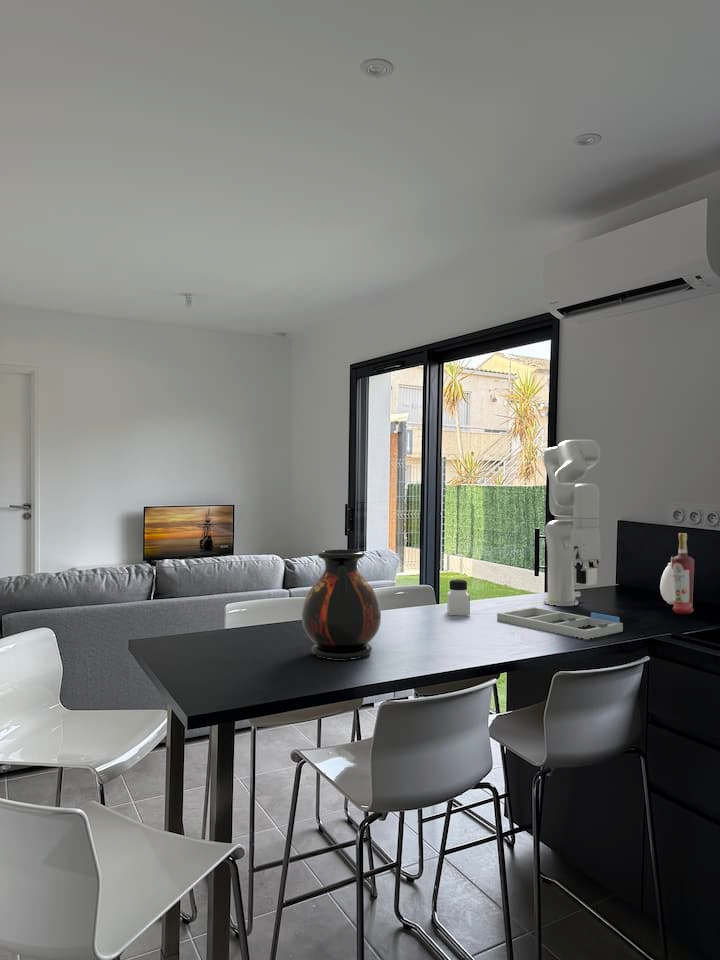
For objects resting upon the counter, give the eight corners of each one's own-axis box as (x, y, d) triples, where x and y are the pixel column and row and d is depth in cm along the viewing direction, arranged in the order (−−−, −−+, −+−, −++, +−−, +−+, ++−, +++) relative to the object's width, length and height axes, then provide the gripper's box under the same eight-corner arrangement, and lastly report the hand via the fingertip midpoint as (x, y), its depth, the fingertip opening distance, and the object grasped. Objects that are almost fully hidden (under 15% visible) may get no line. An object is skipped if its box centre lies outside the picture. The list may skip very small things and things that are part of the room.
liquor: (698, 613, 245) (698, 533, 245) (687, 616, 241) (686, 534, 241) (679, 610, 251) (678, 532, 251) (667, 612, 247) (667, 533, 247)
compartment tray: (534, 613, 247) (534, 602, 247) (623, 630, 219) (623, 618, 219) (497, 620, 235) (497, 608, 235) (586, 639, 207) (586, 626, 207)
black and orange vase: (303, 645, 202) (302, 548, 202) (377, 644, 203) (377, 547, 203) (301, 665, 180) (300, 556, 180) (384, 663, 182) (384, 555, 182)
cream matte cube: (584, 582, 221) (584, 566, 221) (596, 584, 218) (596, 568, 218) (575, 583, 218) (575, 567, 218) (588, 585, 215) (587, 569, 215)
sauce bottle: (655, 603, 266) (655, 555, 266) (669, 601, 269) (669, 554, 269) (673, 606, 259) (673, 557, 259) (687, 604, 262) (687, 556, 262)
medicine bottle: (469, 615, 244) (469, 581, 244) (449, 615, 244) (449, 581, 244) (467, 611, 251) (467, 578, 251) (447, 611, 251) (447, 578, 251)
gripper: (592, 522, 226) (592, 578, 226) (558, 524, 216) (559, 583, 216) (612, 523, 220) (613, 581, 220) (579, 525, 210) (579, 586, 210)
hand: (586, 582), depth 218 cm, fingers closed on cream matte cube, 4 cm apart
